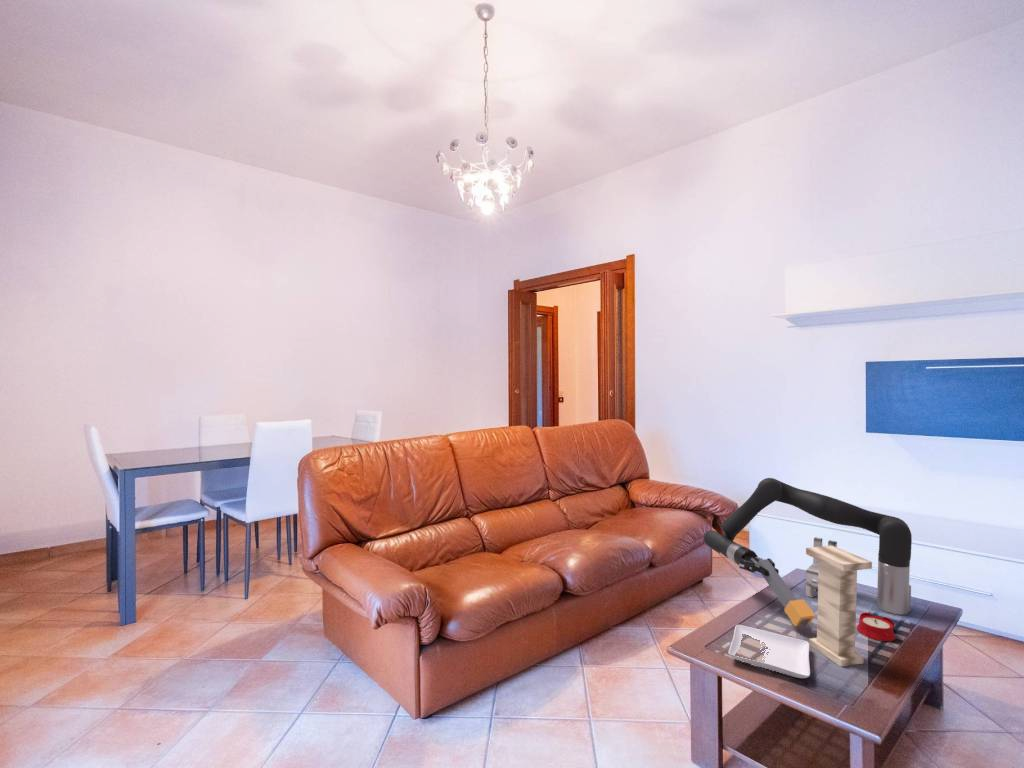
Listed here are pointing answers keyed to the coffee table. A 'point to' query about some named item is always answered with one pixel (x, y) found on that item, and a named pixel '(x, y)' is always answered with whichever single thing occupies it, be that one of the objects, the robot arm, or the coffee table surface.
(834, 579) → the stand
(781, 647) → the salad plate
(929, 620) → the coffee table surface
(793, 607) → the orange-tipped gray rod
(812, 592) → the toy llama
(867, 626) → the alarm clock
